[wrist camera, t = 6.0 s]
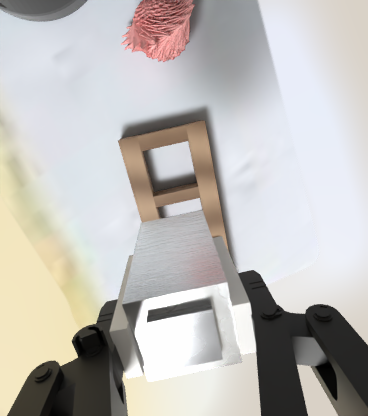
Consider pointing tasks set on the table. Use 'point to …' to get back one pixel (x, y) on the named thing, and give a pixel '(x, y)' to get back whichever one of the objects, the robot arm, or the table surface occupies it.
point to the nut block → (179, 299)
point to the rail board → (202, 189)
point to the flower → (160, 28)
